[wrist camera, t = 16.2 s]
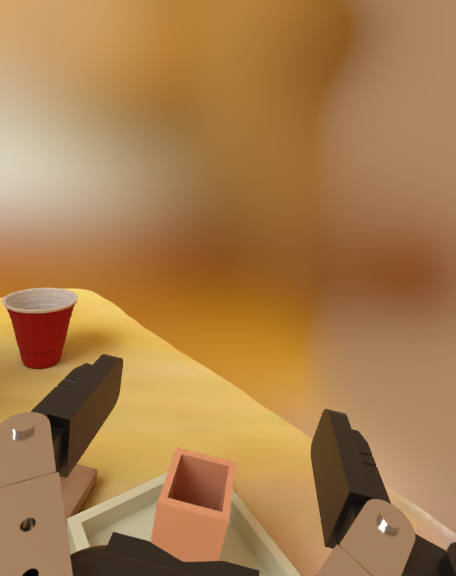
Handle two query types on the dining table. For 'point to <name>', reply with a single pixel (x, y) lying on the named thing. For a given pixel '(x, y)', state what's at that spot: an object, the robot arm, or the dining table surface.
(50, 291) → the plastic cup
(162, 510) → the sleeve
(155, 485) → the tray
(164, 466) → the dining table surface
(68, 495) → the stand
